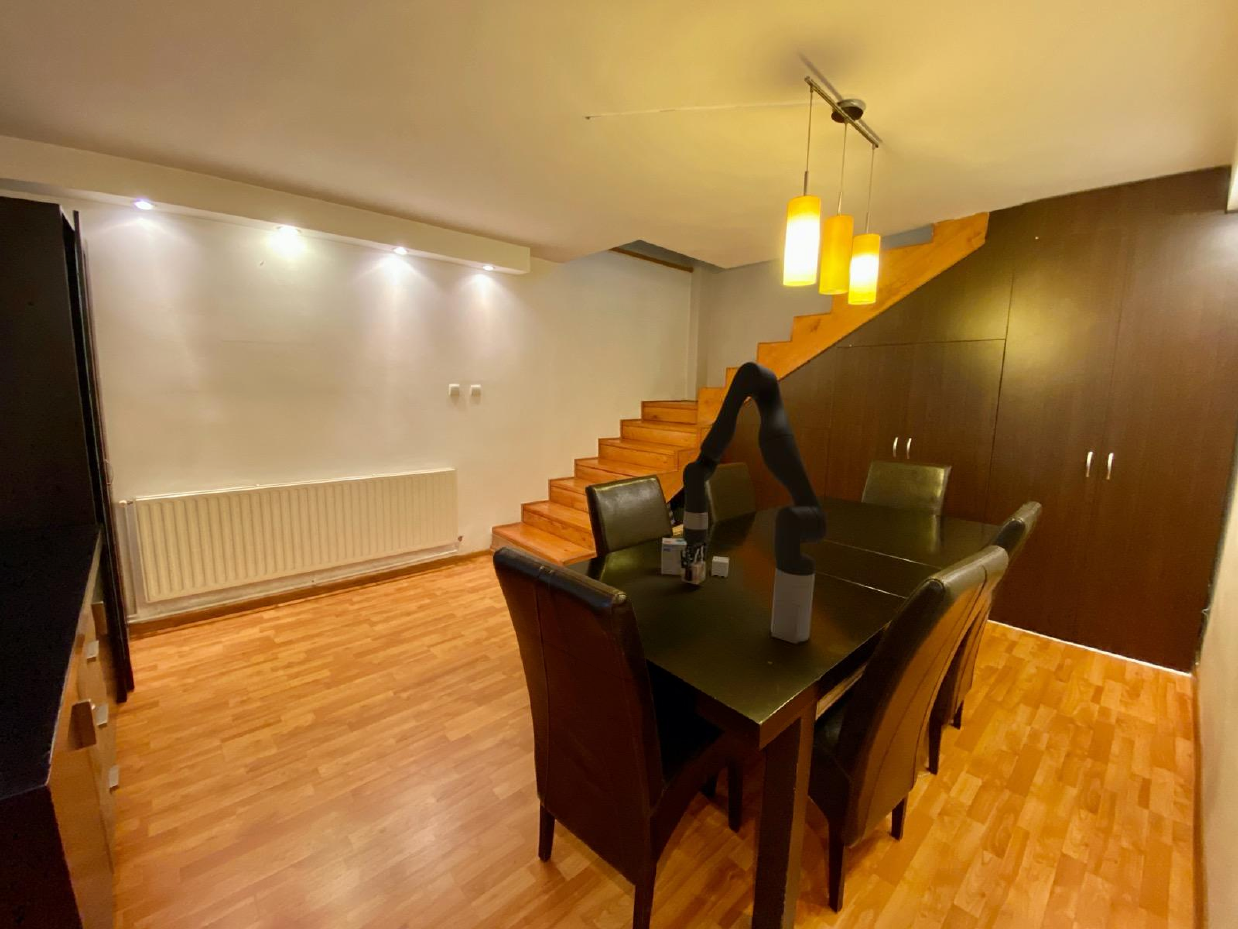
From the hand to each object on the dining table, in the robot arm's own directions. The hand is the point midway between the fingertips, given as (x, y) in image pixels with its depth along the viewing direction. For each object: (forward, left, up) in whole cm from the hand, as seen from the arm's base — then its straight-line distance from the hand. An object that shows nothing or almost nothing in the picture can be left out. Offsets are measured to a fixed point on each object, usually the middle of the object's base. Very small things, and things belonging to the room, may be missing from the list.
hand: (692, 577), depth 155 cm
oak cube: (0, 0, -1) cm, 1 cm away
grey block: (+16, -2, -3) cm, 16 cm away
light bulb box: (+8, +10, -3) cm, 13 cm away
